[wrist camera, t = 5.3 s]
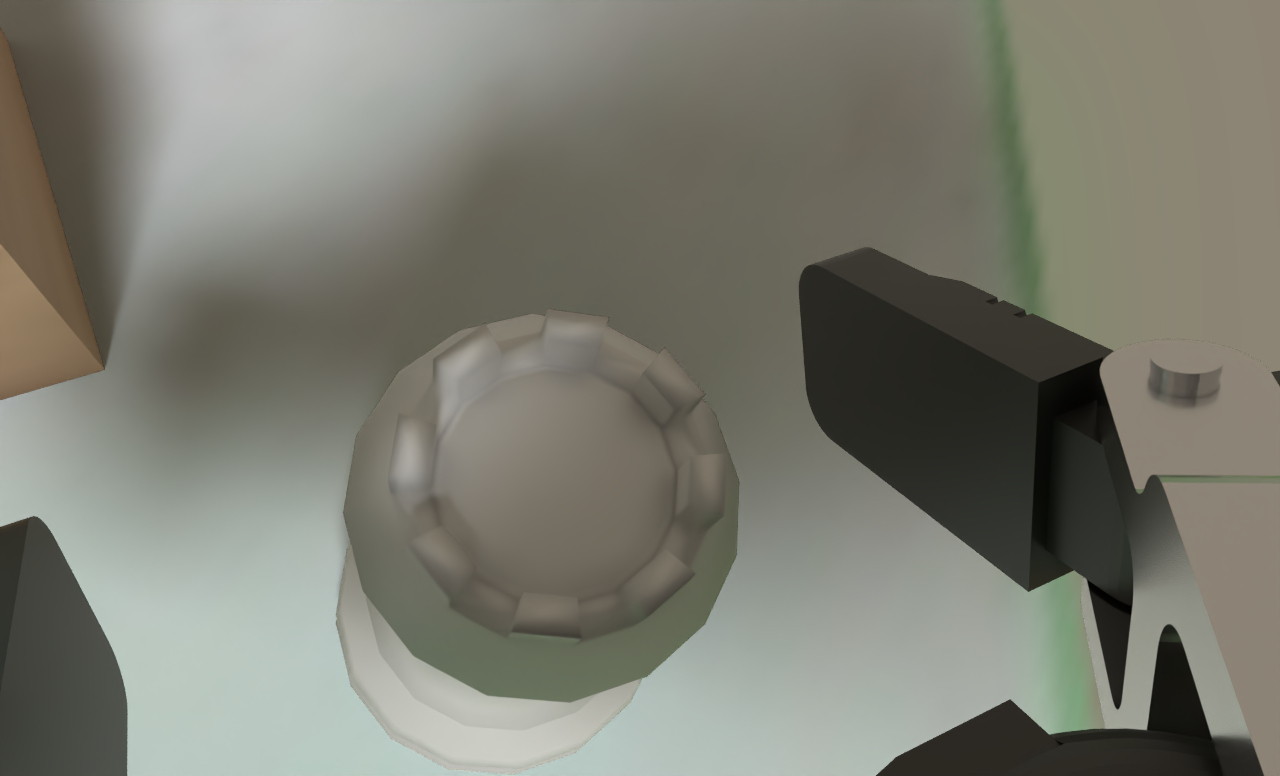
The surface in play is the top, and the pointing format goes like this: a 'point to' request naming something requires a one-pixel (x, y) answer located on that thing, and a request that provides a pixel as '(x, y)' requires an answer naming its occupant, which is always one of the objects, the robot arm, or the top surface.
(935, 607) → the top surface
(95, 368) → the walnut base block
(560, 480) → the rook chess piece
